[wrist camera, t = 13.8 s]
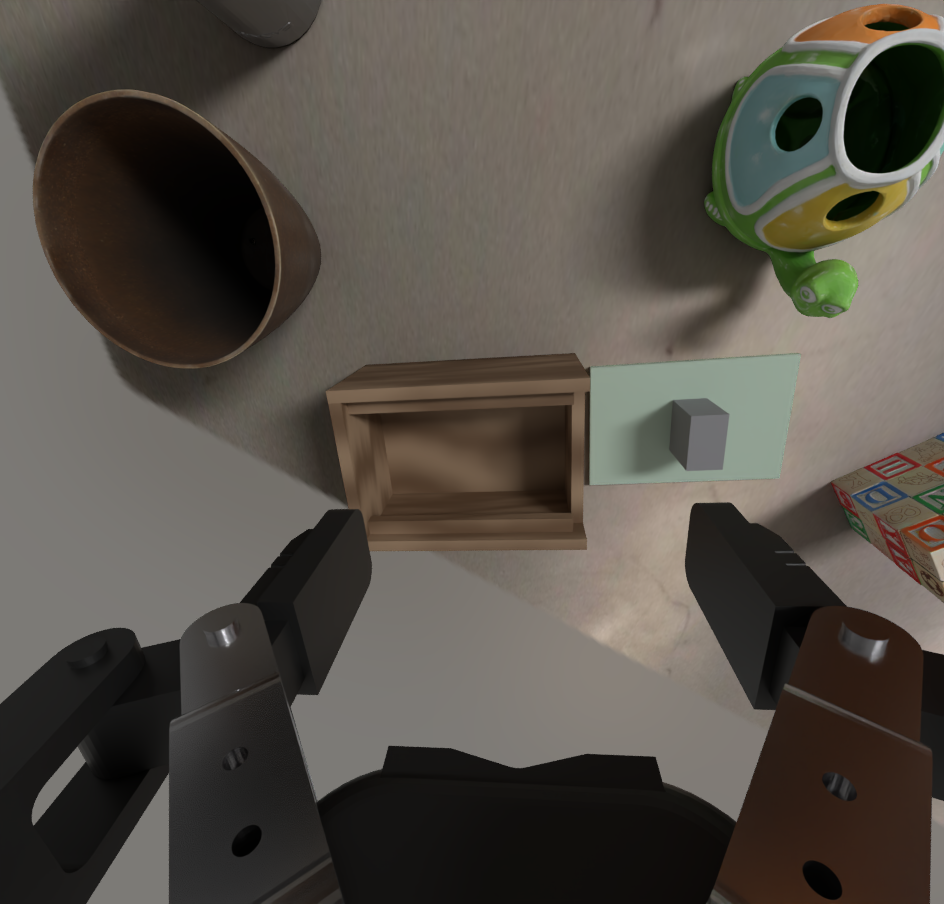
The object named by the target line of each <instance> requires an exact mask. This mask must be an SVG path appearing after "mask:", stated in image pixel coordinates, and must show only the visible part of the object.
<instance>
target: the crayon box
mask: <svg viewBox="0 0 944 904" xmlns="http://www.w3.org/2000/svg"><path fill="white" fill-rule="evenodd" d="M585 392H590V377H589V375H588V374H587V372H586V370H585V369H584V367H583V366H582V364H581V362H580V361H579V359H578V358H577V356H576V354H575V353H570V354H552V355H535V356H517V357H499V358H481V359H463V360H445V361H427V362H409V363H392V364H374V365H365V366H364V367H362V368H361V369H359V370H358V371H356V372H355V373H353V374H352V375H350V376H349V377H347V378H345V379H344V380H342V381H341V382H339V383H338V384H336V385H335V386H333V387H332V388H330V389H328V390H327V391H326V395H327V400H328V405H329V410H330V415H331V420H332V426H333V431H334V436H335V441H336V446H337V451H338V456H339V462H340V467H341V472H342V477H343V482H344V487H345V493H346V498H347V503H348V508H349V509H359V510H360V511H361V512H362V515H363V518H364V524H365V529H366V535H367V540H368V545H369V551H467V550H587V538H586V534H585V530H584V526H583V479H584V420H585Z"/></svg>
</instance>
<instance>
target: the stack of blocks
mask: <svg viewBox="0 0 944 904" xmlns="http://www.w3.org/2000/svg"><path fill="white" fill-rule="evenodd" d="M831 484H832V486H833V488H834V491H835V493H836V495H837V497H838V499H839V502H840V504H841V505H842V507H843V509H844V512H845V514H846V516H847V518H848V521H849V523H850V525H851V528H852V529H854V530H855V531H856V532H857V533H858V534H859V535H861V536H862V537H863V538H865V539H866V540H867V541H868V542H870V543H871V544H873V545H874V546H875V547H876V548H877V549H878V550H880V551H881V552H882V553H883V554H884V555H885V556H887V557H888V558H889V559H890V560H892V561H893V562H894V563H895V564H896V565H897V566H898V567H899V568H901V569H902V570H903V571H904V572H906V573H907V574H908V575H909V576H910V577H912V578H913V579H914V580H915V581H916V582H918V583H919V584H920V585H923V586H924V587H925V588H926V589H927V590H929V591H930V592H931V593H932V594H934V595H935V596H936V597H937V598H938V599H940V600H941V601H942V602H943V603H944V433H943V434H940V435H938V436H936V437H935V438H932V439H929V440H927V441H925V442H922V443H920V444H918V445H916V446H913V447H911V448H909V449H906V450H904V451H902V452H900V453H896V454H894V455H891V456H889V457H887V458H884V459H882V460H880V461H877V462H875V463H873V464H870V465H868V466H866V467H864V468H861V469H858V470H856V471H854V472H851V473H849V474H847V475H845V476H842V477H840V478H838V479H835V480H833V481H831Z"/></svg>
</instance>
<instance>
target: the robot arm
mask: <svg viewBox="0 0 944 904" xmlns="http://www.w3.org/2000/svg"><path fill="white" fill-rule="evenodd" d="M197 1H198V2H199V3H200V4H202V5H203V6H204V7H205V8H206V9H208V10H209V11H210V12H211V13H213V14H214V15H215V16H216V17H218V18H219V19H220V20H221V21H223V22H224V23H225V24H226V25H227V26H229V27H230V28H231V29H232V30H234V31H235V32H236V33H237V34H239V35H240V36H241V37H242V38H244V39H246V40H247V41H249V42H251V43H253V44H255V45H259V46H263V47H281V46H285V45H288V44H290V43H292V42H294V41H295V40H297V39H298V38H300V37H301V36H302V35H303V34H304V33H305V32H306V31H307V30H308V28H309V27H310V25H311V24H312V22H313V20H314V19H315V17H316V15H317V12H318V9H319V6H320V3H321V0H197ZM685 570H686V577H687V581H688V584H689V587H690V589H691V591H692V593H693V594H694V596H695V598H696V600H697V602H698V604H699V606H700V608H701V610H702V611H703V613H704V615H705V617H706V619H707V621H708V623H709V625H710V627H711V629H712V630H713V632H714V634H715V636H716V638H717V640H718V642H719V644H720V646H721V648H722V649H723V651H724V653H725V655H726V657H727V659H728V661H729V663H730V665H731V667H732V668H733V670H734V672H735V674H736V676H737V678H738V680H739V682H740V684H741V685H742V687H743V689H744V691H745V693H746V695H747V697H748V699H749V701H750V703H751V704H752V706H753V708H754V709H762V710H775V713H774V716H773V719H772V722H771V724H770V727H769V730H768V733H767V736H766V739H765V742H764V745H763V748H762V751H761V753H760V756H759V759H758V762H757V765H756V768H755V771H754V773H753V776H752V779H751V782H750V785H749V788H748V791H747V794H746V796H745V799H744V802H743V805H742V808H741V811H740V814H739V817H738V819H737V822H736V821H734V820H733V819H732V818H731V817H729V816H728V815H727V814H725V813H724V812H722V811H721V810H719V809H718V808H716V807H715V806H713V805H712V804H710V803H708V802H707V801H705V800H703V799H701V798H699V797H698V796H696V795H694V794H692V793H690V792H688V791H685V790H683V789H680V788H678V787H675V786H673V785H670V784H667V783H664V782H662V779H661V775H660V771H659V768H658V764H657V761H656V757H648V756H624V755H598V754H584V755H580V756H575V757H571V758H566V759H562V760H557V761H553V762H549V763H544V764H540V765H535V766H530V767H526V768H512V767H508V766H505V765H502V764H499V763H496V762H492V761H489V760H486V759H483V758H480V757H477V756H474V755H470V754H467V753H464V752H461V751H458V750H454V749H451V748H429V747H427V748H426V747H404V746H389V747H388V750H387V754H386V758H385V762H384V765H383V769H381V770H377V771H373V772H370V773H368V774H365V775H362V776H359V777H357V778H355V779H353V780H351V781H349V782H347V783H345V784H343V785H341V786H340V787H338V788H337V789H335V790H333V791H331V792H330V793H328V794H327V795H326V796H325V797H323V798H322V799H321V800H319V801H318V800H317V797H316V793H315V790H314V787H313V783H312V779H311V776H310V773H309V769H308V766H307V762H306V759H305V755H304V752H303V749H302V745H301V741H300V738H299V735H298V731H297V728H296V724H295V721H294V718H293V714H292V711H291V705H292V703H293V701H294V699H295V697H296V695H297V694H303V695H318V694H319V692H320V689H321V687H322V685H323V683H324V681H325V679H326V677H327V674H328V672H329V670H330V668H331V666H332V664H333V662H334V659H335V657H336V655H337V653H338V651H339V649H340V647H341V645H342V643H343V640H344V638H345V636H346V634H347V632H348V629H349V627H350V625H351V623H352V621H353V619H354V617H355V615H356V613H357V610H358V608H359V606H360V604H361V602H362V600H363V597H364V595H365V593H366V591H367V589H368V587H369V584H370V580H371V573H372V562H371V556H370V551H369V545H368V540H367V535H366V529H365V524H364V518H363V515H362V512H361V511H360V510H359V509H335V510H328V511H327V512H326V513H325V515H324V516H323V517H322V519H321V520H320V521H319V523H318V524H317V525H316V526H315V528H314V529H308V530H306V531H305V532H303V533H302V534H300V535H299V536H297V537H296V538H294V539H293V540H291V541H290V543H289V544H288V545H287V546H286V547H285V549H284V550H283V551H282V552H281V553H280V556H279V557H277V558H276V559H275V561H274V562H273V563H272V564H271V568H268V569H267V570H266V572H265V573H264V574H263V575H262V577H261V578H260V579H259V580H258V581H257V583H256V584H255V585H254V586H253V587H252V589H251V590H250V591H249V592H248V593H247V595H246V596H245V597H244V598H243V599H242V601H241V602H240V603H236V604H230V605H226V606H223V607H220V608H217V609H215V610H212V611H210V612H208V613H206V614H205V615H203V616H202V617H200V618H199V619H197V620H196V621H195V622H194V623H192V624H191V625H190V626H189V627H188V628H187V629H186V631H185V632H184V634H183V635H182V637H181V639H179V640H175V641H171V642H166V643H162V644H157V645H152V646H148V647H143V648H141V647H140V644H139V642H138V640H137V638H136V636H135V633H134V632H133V631H132V630H130V629H126V628H112V629H107V630H103V631H99V632H96V633H93V634H90V635H88V636H86V637H84V638H82V639H80V640H77V641H75V642H74V643H72V644H70V645H69V646H67V647H65V648H64V649H62V650H61V651H60V652H58V653H57V654H56V655H55V656H53V657H52V658H51V659H50V660H49V661H48V662H47V663H45V664H44V665H43V666H42V667H41V668H40V669H39V670H38V671H37V672H35V673H34V674H33V675H32V676H31V677H30V678H29V679H28V680H26V681H25V682H24V683H23V684H22V685H21V686H20V687H19V688H18V689H17V690H15V691H14V692H13V693H12V694H11V695H10V696H9V697H8V698H7V699H5V700H4V701H3V702H2V703H1V704H0V904H86V903H87V902H88V900H89V898H90V897H91V895H92V893H93V892H94V891H95V889H96V887H97V886H98V884H99V883H100V881H101V879H102V878H103V876H104V875H105V873H106V872H107V870H108V868H109V866H110V865H111V864H112V862H113V860H114V859H115V857H116V856H117V854H118V853H119V851H120V849H121V848H122V846H123V845H124V843H125V841H126V840H127V838H128V837H129V835H130V834H131V832H132V830H133V829H134V827H135V825H136V824H137V822H138V821H139V819H140V818H141V816H142V814H143V813H144V811H145V810H146V808H147V806H148V805H149V804H150V802H151V800H152V799H153V797H154V796H155V794H156V792H157V791H158V789H159V788H160V786H161V784H162V783H163V781H164V780H165V778H166V776H167V775H168V773H169V904H930V873H931V871H930V870H931V819H932V797H933V798H936V799H939V800H943V801H944V655H943V654H938V653H933V652H929V651H925V650H922V649H921V647H920V645H919V644H918V642H917V641H916V640H915V639H914V638H913V637H912V636H911V635H910V634H909V633H908V632H907V631H905V630H904V629H903V628H901V627H900V626H898V625H897V624H895V623H893V622H891V621H889V620H888V619H886V618H883V617H881V616H879V615H876V614H874V613H871V612H868V611H865V610H861V609H858V608H853V607H847V606H846V605H845V604H844V603H843V602H842V601H841V600H840V599H839V598H838V596H837V595H836V594H835V593H834V592H833V591H832V590H831V589H830V588H829V587H828V586H827V585H826V584H825V583H824V582H823V581H822V580H821V579H820V578H819V577H818V576H817V575H816V573H815V572H814V571H813V570H812V569H811V568H810V567H809V566H806V565H805V562H804V561H803V560H802V559H801V558H800V557H799V556H798V555H797V554H794V550H793V549H792V548H791V547H790V546H789V545H788V544H787V543H786V542H785V541H784V540H783V539H782V538H781V537H780V536H779V535H777V534H775V533H774V532H772V531H770V530H768V529H767V528H765V527H763V526H761V525H760V524H758V523H749V522H748V521H747V520H746V519H745V518H744V516H743V515H742V514H741V513H740V512H739V511H738V510H737V509H736V507H735V506H734V505H733V504H732V503H729V502H727V503H695V504H694V505H693V506H692V509H691V514H690V522H689V531H688V540H687V548H686V557H685ZM77 746H78V748H79V750H80V752H81V753H82V755H83V757H84V759H85V760H86V762H85V764H84V765H83V766H82V767H81V769H80V770H79V771H78V772H77V773H76V775H75V776H74V777H73V778H72V780H71V781H70V782H69V783H68V785H67V786H66V787H65V788H64V790H63V791H62V792H61V793H60V794H59V796H58V797H57V798H56V799H55V800H54V802H53V803H52V804H51V806H50V807H49V808H48V809H47V810H46V812H45V813H44V814H43V815H42V817H41V818H40V819H39V820H38V821H37V823H36V824H35V825H34V826H33V824H32V809H33V806H34V803H35V800H36V798H37V796H38V794H39V792H40V791H41V789H42V788H43V786H44V785H45V784H46V782H47V781H48V780H49V779H50V778H51V777H52V775H53V774H54V773H55V772H56V771H57V770H58V768H59V767H60V766H61V765H62V764H63V762H64V761H65V760H66V759H67V758H68V757H69V756H70V754H71V753H72V752H73V751H74V750H75V749H76V747H77Z"/></svg>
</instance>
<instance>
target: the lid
mask: <svg viewBox="0 0 944 904" xmlns="http://www.w3.org/2000/svg"><path fill="white" fill-rule="evenodd" d="M800 357H801V354H799V353H789V354H774V355H759V356H743V357H728V358H713V359H698V360H682V361H667V362H652V363H637V364H621V365H606V366H591V367H590V399H589V484H590V485H608V484H636V483H664V482H691V481H719V480H747V479H775V478H780V472H781V467H782V461H783V455H784V449H785V444H786V438H787V432H788V426H789V421H790V415H791V409H792V403H793V398H794V392H795V386H796V380H797V375H798V369H799V363H800Z"/></svg>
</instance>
